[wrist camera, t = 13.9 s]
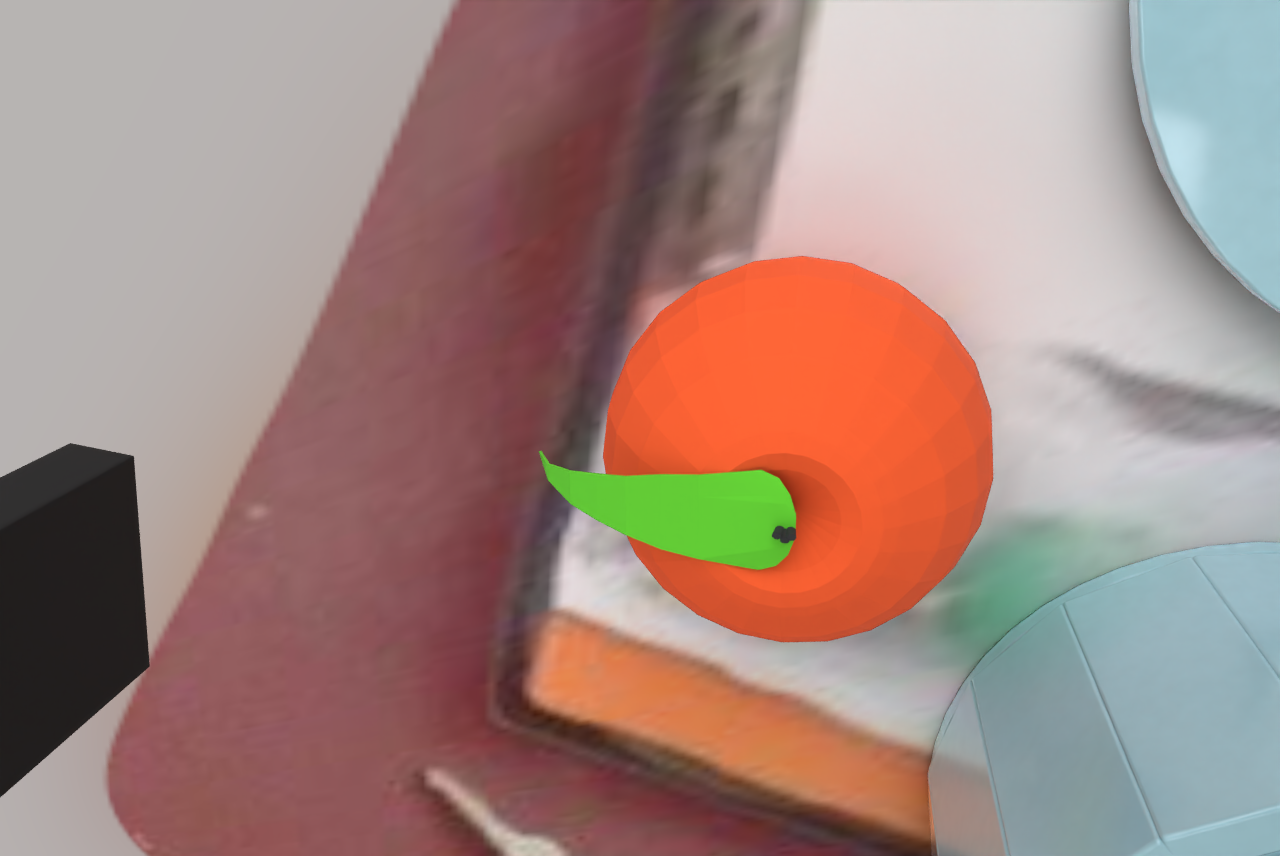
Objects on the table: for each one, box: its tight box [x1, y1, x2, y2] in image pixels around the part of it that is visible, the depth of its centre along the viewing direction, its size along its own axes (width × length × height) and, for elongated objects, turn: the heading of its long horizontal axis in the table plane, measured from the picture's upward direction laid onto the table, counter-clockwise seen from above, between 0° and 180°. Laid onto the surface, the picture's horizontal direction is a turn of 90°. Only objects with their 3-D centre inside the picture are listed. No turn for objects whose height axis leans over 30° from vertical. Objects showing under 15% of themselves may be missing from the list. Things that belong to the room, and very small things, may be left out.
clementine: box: [539, 256, 993, 642], centre depth 18 cm, size 8×7×7 cm
